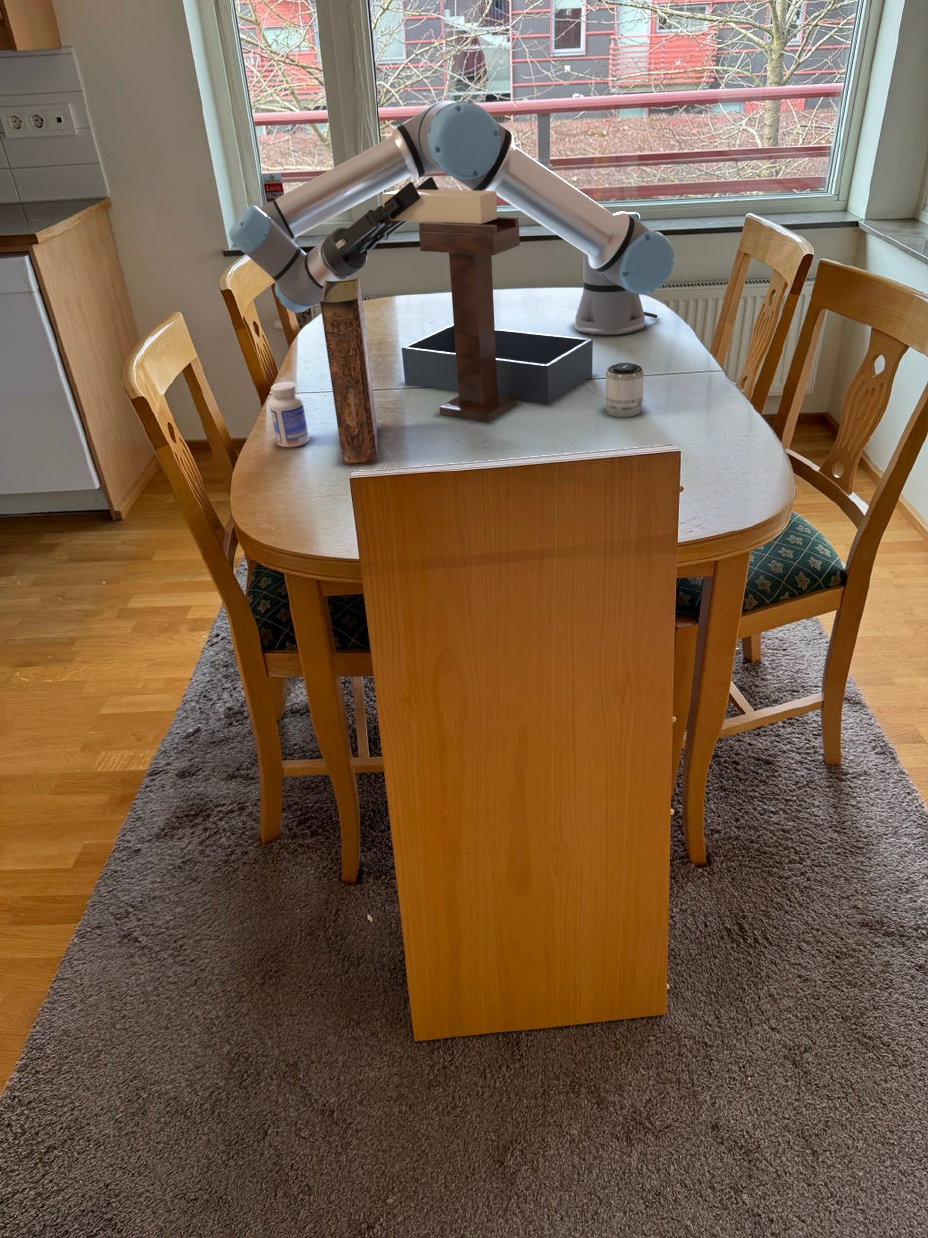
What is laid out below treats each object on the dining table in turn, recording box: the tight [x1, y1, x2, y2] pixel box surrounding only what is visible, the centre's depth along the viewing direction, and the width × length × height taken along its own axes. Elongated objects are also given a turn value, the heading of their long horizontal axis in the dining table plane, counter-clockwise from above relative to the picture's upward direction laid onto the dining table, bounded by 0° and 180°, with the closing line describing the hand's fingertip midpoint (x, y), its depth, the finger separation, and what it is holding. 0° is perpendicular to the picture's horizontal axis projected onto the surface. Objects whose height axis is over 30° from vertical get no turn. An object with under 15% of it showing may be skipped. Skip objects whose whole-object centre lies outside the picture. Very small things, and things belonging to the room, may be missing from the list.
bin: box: [401, 323, 594, 406], centre depth 173 cm, size 32×18×7 cm, turn 57°
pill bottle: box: [269, 381, 310, 448], centre depth 152 cm, size 5×5×10 cm
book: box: [319, 276, 378, 466], centre depth 144 cm, size 16×6×25 cm, turn 5°
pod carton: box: [381, 188, 498, 224], centre depth 147 cm, size 19×5×4 cm, turn 57°
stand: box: [418, 216, 521, 424], centre depth 153 cm, size 14×10×31 cm
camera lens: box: [605, 362, 645, 418], centre depth 154 cm, size 6×6×8 cm
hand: (424, 187), depth 147 cm, fingers closed on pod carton, 5 cm apart
